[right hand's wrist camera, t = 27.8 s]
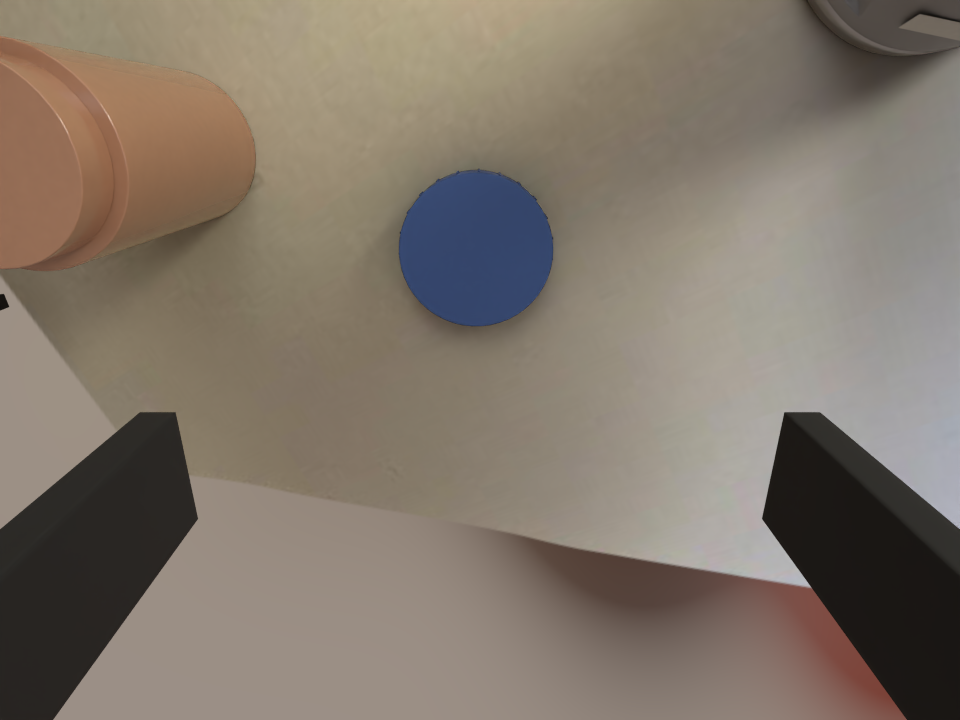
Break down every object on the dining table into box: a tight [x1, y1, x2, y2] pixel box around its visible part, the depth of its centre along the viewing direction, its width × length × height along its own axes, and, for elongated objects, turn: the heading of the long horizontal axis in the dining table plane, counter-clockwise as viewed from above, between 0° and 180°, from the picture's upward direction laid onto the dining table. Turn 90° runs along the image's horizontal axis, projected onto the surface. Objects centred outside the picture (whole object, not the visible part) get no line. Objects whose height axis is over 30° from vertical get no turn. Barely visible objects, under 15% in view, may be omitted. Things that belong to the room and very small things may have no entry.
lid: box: [399, 169, 553, 326], centre depth 37 cm, size 9×9×2 cm
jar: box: [0, 36, 256, 271], centre depth 28 cm, size 9×9×16 cm
